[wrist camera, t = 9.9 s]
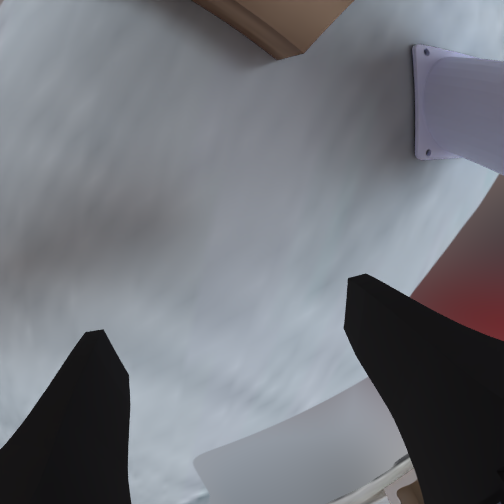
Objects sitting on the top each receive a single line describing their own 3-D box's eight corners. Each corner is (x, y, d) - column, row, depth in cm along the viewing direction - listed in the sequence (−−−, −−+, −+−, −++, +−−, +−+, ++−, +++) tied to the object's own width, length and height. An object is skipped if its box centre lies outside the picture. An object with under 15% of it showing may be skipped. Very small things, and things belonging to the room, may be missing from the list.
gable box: (434, 451, 61) (475, 525, 37) (455, 443, 66) (493, 509, 42) (382, 489, 69) (413, 556, 45) (407, 480, 74) (437, 541, 50)
